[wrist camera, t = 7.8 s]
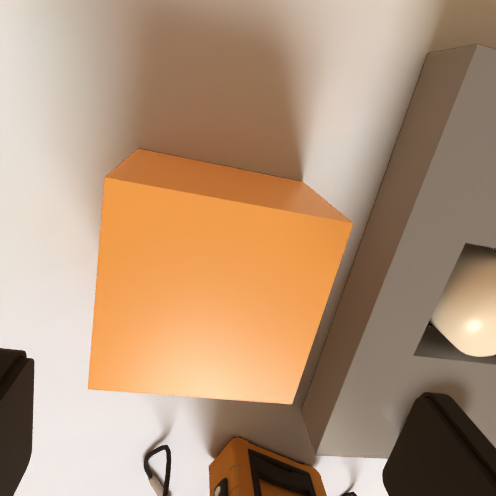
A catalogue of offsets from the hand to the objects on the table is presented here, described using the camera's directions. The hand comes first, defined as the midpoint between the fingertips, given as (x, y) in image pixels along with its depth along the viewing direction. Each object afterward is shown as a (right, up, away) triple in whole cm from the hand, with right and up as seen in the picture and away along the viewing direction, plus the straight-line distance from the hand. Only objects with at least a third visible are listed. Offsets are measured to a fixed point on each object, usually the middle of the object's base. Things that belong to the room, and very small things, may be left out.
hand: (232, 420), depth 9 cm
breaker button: (+12, +2, +11) cm, 16 cm away
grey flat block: (+13, +2, +11) cm, 18 cm away
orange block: (-1, +4, +9) cm, 10 cm away
